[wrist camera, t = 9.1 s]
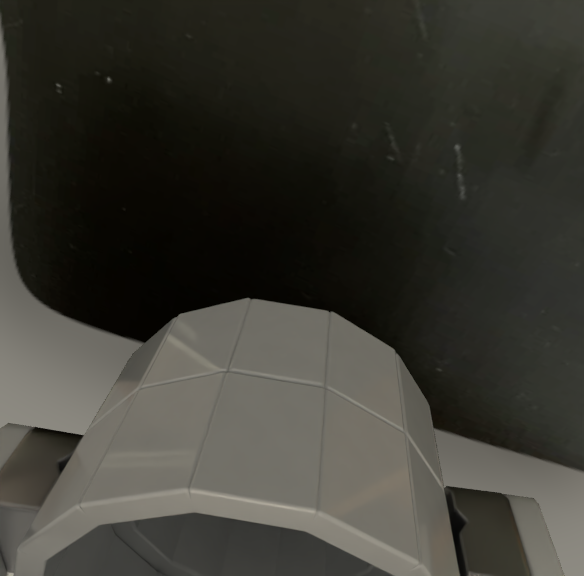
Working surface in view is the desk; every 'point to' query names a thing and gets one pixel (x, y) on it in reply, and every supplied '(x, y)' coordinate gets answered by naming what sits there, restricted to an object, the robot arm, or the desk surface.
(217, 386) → the steel bowl
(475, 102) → the desk surface
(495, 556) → the robot arm
